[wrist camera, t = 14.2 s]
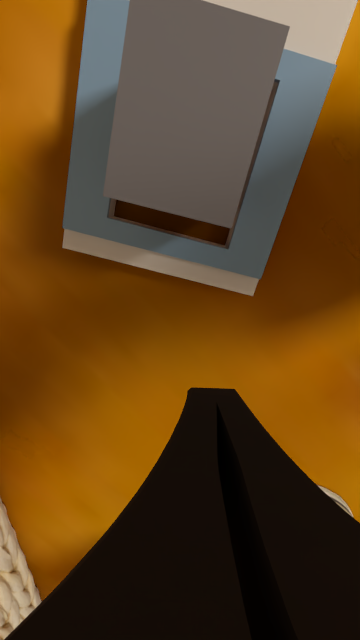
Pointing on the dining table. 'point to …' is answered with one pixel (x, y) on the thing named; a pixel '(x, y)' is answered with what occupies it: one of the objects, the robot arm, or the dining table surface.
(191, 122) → the plug
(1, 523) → the storage basket
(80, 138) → the two-tone slotted frame
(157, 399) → the dining table surface
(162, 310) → the dining table surface
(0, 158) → the dining table surface
